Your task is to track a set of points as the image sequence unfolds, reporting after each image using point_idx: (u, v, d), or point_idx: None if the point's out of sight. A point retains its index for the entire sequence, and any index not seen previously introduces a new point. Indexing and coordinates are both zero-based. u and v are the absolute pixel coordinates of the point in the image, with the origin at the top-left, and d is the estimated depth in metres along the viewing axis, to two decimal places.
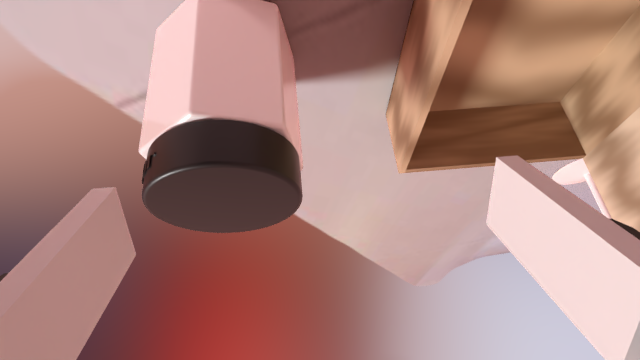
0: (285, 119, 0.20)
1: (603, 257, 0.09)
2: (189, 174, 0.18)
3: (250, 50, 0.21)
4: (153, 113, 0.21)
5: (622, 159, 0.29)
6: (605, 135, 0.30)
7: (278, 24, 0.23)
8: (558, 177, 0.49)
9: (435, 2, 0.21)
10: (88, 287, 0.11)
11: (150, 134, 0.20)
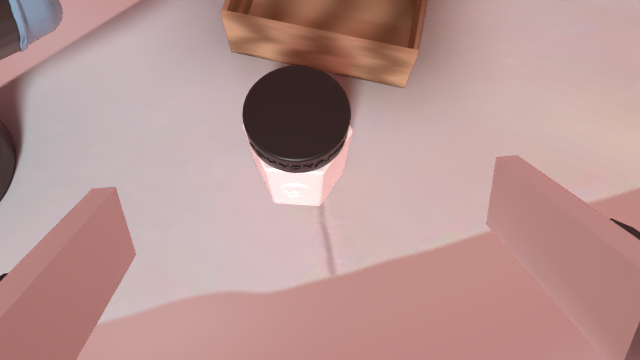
0: None
1: (603, 257, 0.09)
2: (248, 111, 0.29)
3: None
4: (261, 166, 0.33)
5: None
6: None
7: None
8: None
9: (282, 43, 0.42)
10: (88, 287, 0.11)
11: (259, 161, 0.31)
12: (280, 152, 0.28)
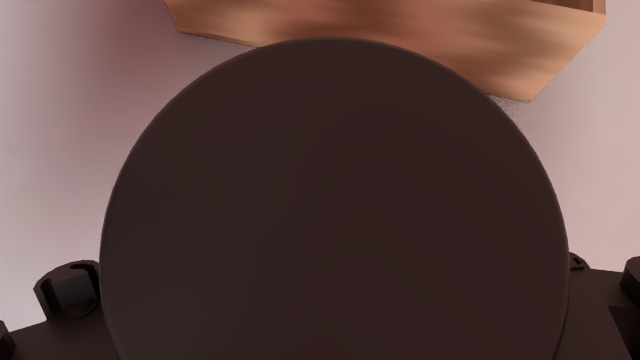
0: None
1: None
2: (126, 228, 0.07)
3: None
4: None
5: None
6: None
7: None
8: None
9: (278, 9, 0.19)
10: None
11: None
12: None
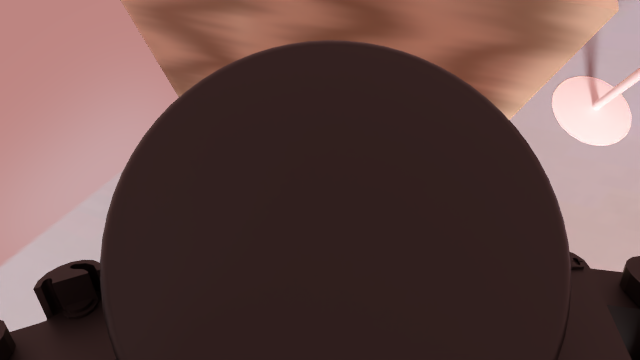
0: None
1: None
2: (127, 232, 0.07)
3: None
4: None
5: None
6: None
7: None
8: (607, 137, 0.37)
9: None
10: None
11: None
12: None
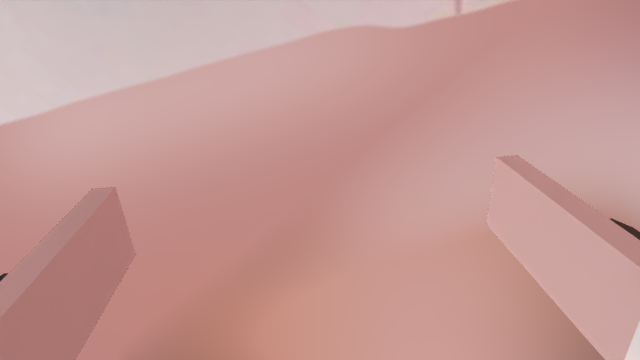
0: None
1: (603, 257, 0.09)
2: None
3: None
4: None
5: None
6: None
7: None
8: None
9: None
10: (88, 287, 0.11)
11: None
12: None
